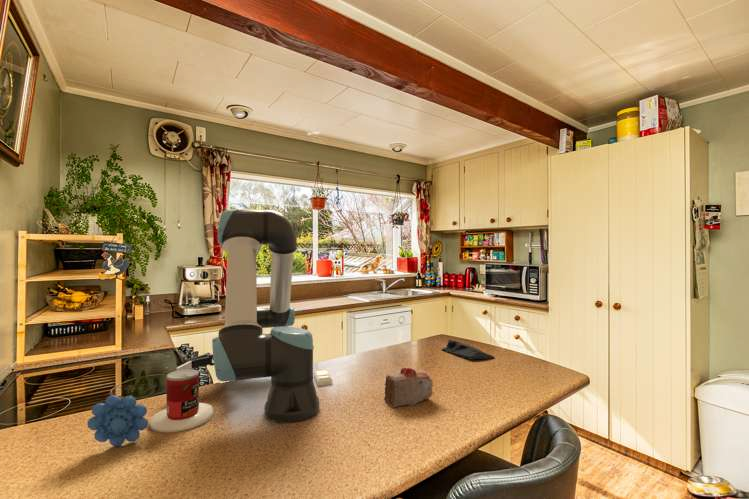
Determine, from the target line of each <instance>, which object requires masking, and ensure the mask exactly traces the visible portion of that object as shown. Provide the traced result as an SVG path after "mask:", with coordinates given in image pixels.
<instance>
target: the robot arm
mask: <svg viewBox="0 0 749 499" xmlns="http://www.w3.org/2000/svg"><path fill="white" fill-rule="evenodd" d="M217 228H218V229H217V243H218V245H220V246H222V250H223V251H224V252H225V253H227V254H226V255H227V257H226V258H227V259H226V260H227V261H226V282H225V283H226V284H225V285H226V286H225V287H226V288H225V308H224V310H225V312H224V313H225V315H224V325H223V326H221V327H220V329H219V330H218V336H215V337H213V338H212V340H211V341H212V345H211V346H212V348H211V349H212V353H211V352H206V353H204V354H202V355H201V354H200V355H196V356H193V357H189V358H185V359H182V364H181V365H179V366H177V367H176V370H175V371H178V370H184V369H196V368H200V367H205V366H211V367H212V366H214V372H215V376H216V378H217V380H219V381H220V382H237V381H245V380H252V379H254V380H255V379H261V378H271V380H270V382H271V383H270V387H269V391H268V395H267V399H266V400H265V404H264V416H265V418H266V419H268V420H270V421H272V422H275V423H296V422H302V421H305V420H307V419H310V418H312V417H314V416H315V415H316V414H317V413H319V410H320V399H319V396H318V394H317V390H316V386H315V383H314V348H315V347H314V338H313V334H312V333H311V331H309V330H307V329H305V328H301V327H298V326H297V327H295V326H293V325H294V324H295V318H296V316H295V315H296V313H295V308H294V307H292V306H291V295H292V294H291V293H292V279H293V262H294V253H295V252H296V251H297V247H298V246H297V245H298V241H297V236H296V231H295V229H294V227H293V225H292V224H291V222H290V221H289V219H288V218H287V217H285V216H284V215H283V214H281V213H280V212H279V211H276V210H272V209H267V210H265V209H239V208H232V209H231V208H229V209H228V208H227V209H225V210H223V211H222V212H221V213H220V217H219V221H218V226H217ZM267 245H268V251H269V252H270V283H269V285H270V287H269V288H270V289H269V307H266V308H258V298H257V295H258V293H257V291H258V290H257V288H258V287H257V283H258V282H257V277H258V276H257V254H258V253H259V252H261V250H262V246H267ZM267 328H270V329H271V330H270V332H269V333H263V329H267Z"/></svg>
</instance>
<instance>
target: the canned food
mask: <svg viewBox="0 0 749 499" xmlns="http://www.w3.org/2000/svg"><path fill="white" fill-rule="evenodd" d="M165 385H166V386H165V387H166V408H167V416H168V418H169V419H171V420H183V419H187V418H190V417H192V416H194V415H196V414H197V412H198V410H199V403H200V402H199V401H200V394H199V393H200V373H199V370H197V369H195V368H192V369H184V370H178V371H176V370H174V371H172V372H169V373H168V374H167V375H166V384H165Z"/></svg>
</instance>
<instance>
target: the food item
mask: <svg viewBox="0 0 749 499" xmlns="http://www.w3.org/2000/svg"><path fill="white" fill-rule="evenodd" d="M433 383H434V381H433V379H432V378H431V377H430V375H429V374H428V373H427V372H426V371H425V370H423V369H417V370H415V369H412V368H411V367H409V368H408V367H404V368H401V370H400V372H397V373H391V374H388V375H386V376H385V383H384V385H385V387H384V399H383V401H384V402H385V403H386V404H388V405H390V406H391V407H392V408H397V407H402V406H405V405H410V406H415V405H417V404H418V403H420V402H423V401H427V400H429V398H431V399H432V396H433Z"/></svg>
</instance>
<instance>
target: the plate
mask: <svg viewBox="0 0 749 499" xmlns="http://www.w3.org/2000/svg"><path fill="white" fill-rule="evenodd" d="M213 415H214V408H213V406H212V405H211V404H209V403H204V402H199V410H198V412H197V414H196V415H194V416H192V417H190V418H187V419H183V420H171V419H169V418H168V416H167V407H166V408H165V409H162V410H160V411H158V412H156V413H155V414H154V415H153V416H152V417H151V418H150V419H149V421H150V422H149V427H150V429H151V430H152V431H154V432H157V433H165V434H167V433H179V432H183V431H187V430H191V429H194V428H197V427H199V426H202V425H204V424H206V423H207V422H208V421H210V420H211V419H212V418H213Z"/></svg>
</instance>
